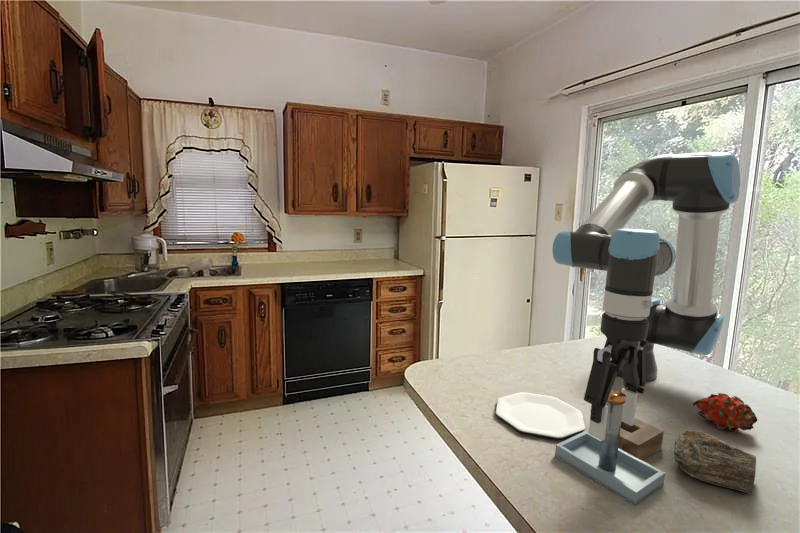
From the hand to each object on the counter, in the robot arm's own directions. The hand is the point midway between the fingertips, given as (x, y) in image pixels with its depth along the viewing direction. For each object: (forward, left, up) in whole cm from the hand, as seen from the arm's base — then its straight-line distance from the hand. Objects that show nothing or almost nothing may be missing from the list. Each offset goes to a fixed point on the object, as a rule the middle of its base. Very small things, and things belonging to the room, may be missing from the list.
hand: (611, 429), depth 79 cm
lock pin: (0, 0, -8) cm, 8 cm away
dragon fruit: (+5, +39, -9) cm, 40 cm away
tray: (0, 0, -9) cm, 9 cm away
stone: (+11, +16, -9) cm, 22 cm away
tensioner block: (-3, +12, -9) cm, 15 cm away
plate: (-20, +5, -9) cm, 23 cm away
